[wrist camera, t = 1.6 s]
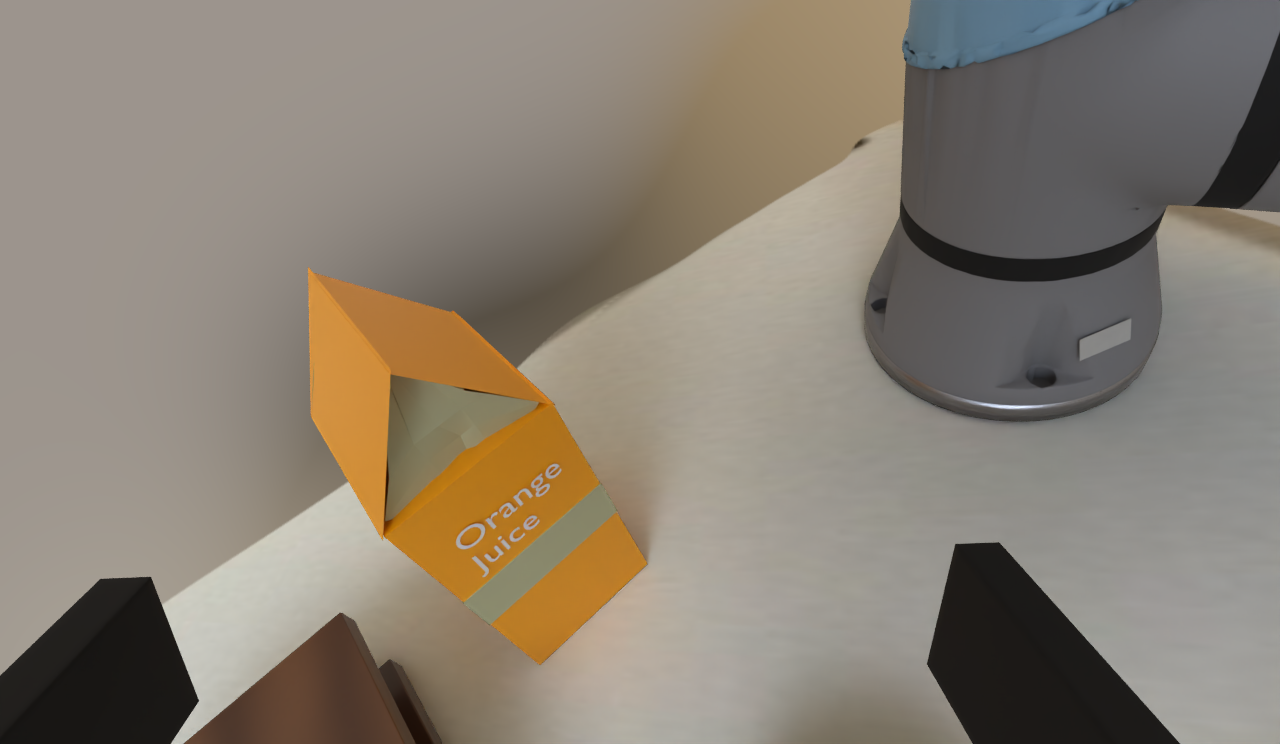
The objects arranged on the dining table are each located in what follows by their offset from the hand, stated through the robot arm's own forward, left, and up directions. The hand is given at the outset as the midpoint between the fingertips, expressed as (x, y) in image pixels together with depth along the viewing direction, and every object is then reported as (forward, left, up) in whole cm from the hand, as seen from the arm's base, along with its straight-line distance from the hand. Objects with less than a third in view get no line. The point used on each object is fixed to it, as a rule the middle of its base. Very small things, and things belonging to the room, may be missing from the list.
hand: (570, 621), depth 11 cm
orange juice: (0, -16, -22) cm, 27 cm away
